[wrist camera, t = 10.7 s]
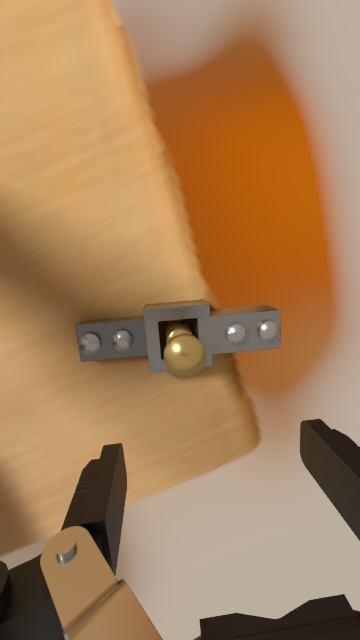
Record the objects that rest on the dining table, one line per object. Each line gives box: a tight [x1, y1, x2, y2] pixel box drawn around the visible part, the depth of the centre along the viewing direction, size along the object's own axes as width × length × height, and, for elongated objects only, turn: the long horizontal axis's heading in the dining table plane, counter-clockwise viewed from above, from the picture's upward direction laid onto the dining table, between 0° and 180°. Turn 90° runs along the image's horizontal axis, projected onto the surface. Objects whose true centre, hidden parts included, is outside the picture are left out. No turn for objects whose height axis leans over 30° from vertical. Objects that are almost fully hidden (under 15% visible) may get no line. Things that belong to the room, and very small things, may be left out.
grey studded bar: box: [75, 300, 281, 373], centre depth 31 cm, size 7×23×5 cm, turn 94°
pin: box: [164, 319, 206, 377], centre depth 29 cm, size 4×4×10 cm
